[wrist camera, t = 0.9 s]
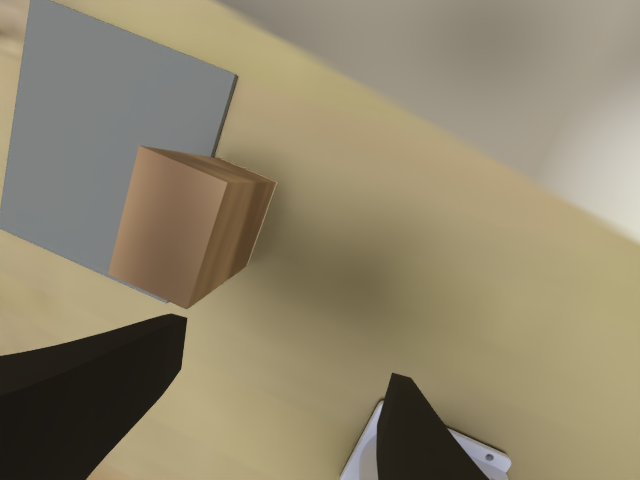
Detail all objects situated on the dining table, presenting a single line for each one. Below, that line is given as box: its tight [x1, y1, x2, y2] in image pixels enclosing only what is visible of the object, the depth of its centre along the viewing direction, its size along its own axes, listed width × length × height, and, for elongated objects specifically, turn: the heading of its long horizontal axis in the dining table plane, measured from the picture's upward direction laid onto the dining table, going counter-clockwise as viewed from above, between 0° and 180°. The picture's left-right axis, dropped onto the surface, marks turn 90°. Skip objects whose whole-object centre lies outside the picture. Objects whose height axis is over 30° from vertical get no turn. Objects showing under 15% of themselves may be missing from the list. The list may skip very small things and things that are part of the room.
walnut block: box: [108, 146, 278, 309], centre depth 17 cm, size 4×6×8 cm, turn 158°
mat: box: [0, 0, 238, 303], centre depth 21 cm, size 14×16×1 cm
